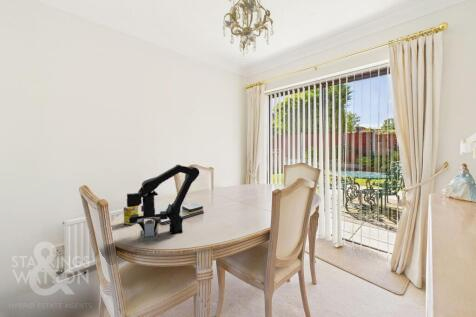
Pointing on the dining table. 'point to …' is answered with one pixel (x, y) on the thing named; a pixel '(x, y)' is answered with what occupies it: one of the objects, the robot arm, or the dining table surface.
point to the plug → (149, 228)
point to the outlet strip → (149, 237)
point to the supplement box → (129, 214)
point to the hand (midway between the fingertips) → (149, 232)
